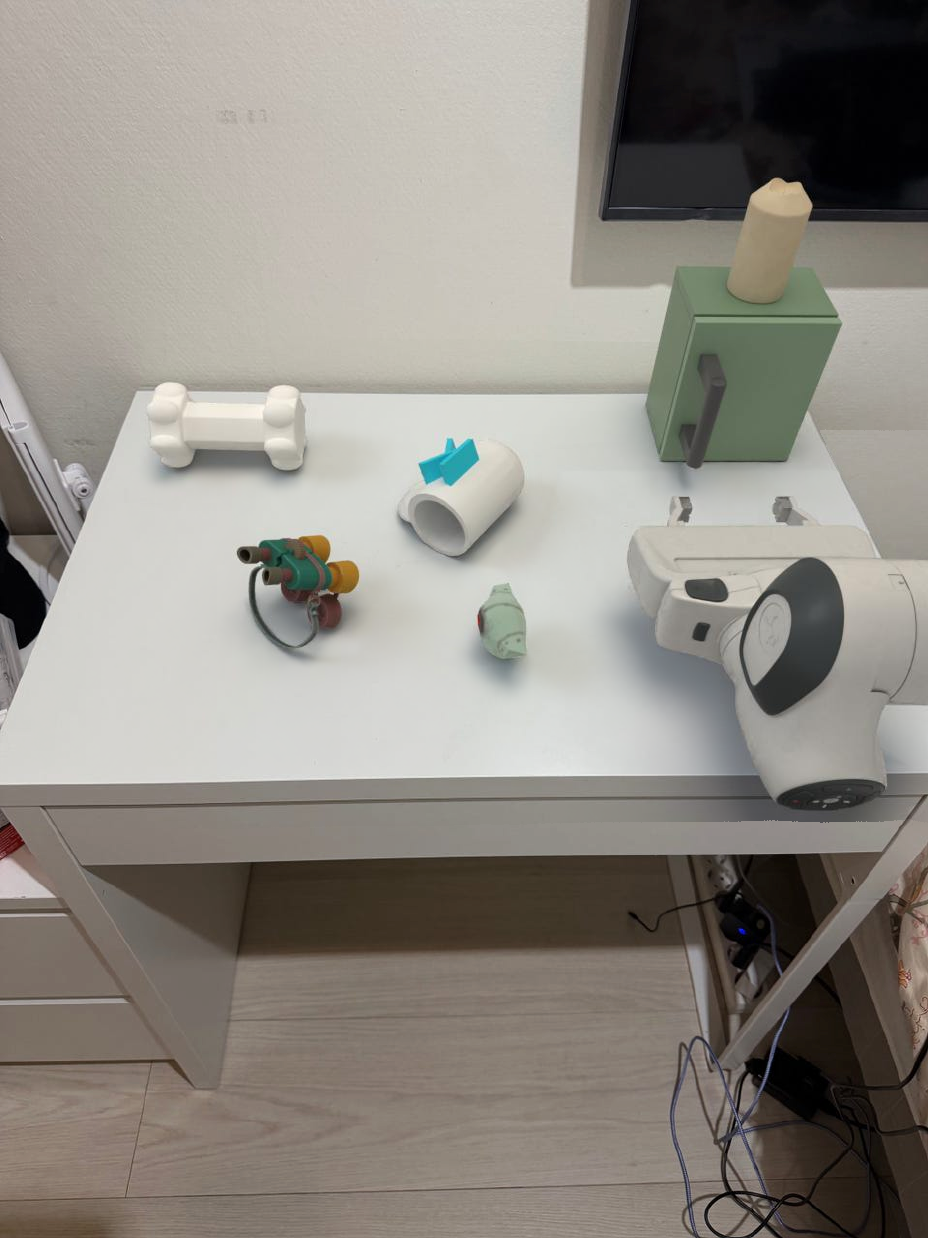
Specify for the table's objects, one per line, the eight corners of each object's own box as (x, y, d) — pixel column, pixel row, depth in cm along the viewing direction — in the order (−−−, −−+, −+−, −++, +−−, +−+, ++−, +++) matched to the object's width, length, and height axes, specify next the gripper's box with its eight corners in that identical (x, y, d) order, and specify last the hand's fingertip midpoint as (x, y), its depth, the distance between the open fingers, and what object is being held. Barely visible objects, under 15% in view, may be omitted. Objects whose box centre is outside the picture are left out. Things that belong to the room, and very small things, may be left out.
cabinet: (783, 454, 94) (839, 314, 81) (658, 454, 93) (694, 313, 80) (763, 405, 100) (812, 266, 86) (645, 404, 99) (676, 265, 86)
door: (800, 493, 90) (860, 355, 77) (669, 493, 89) (708, 354, 76) (784, 454, 94) (839, 317, 81) (659, 454, 93) (694, 316, 80)
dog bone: (157, 482, 89) (136, 418, 82) (176, 430, 94) (157, 367, 88) (301, 485, 89) (290, 422, 83) (311, 433, 94) (302, 370, 88)
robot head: (530, 686, 73) (537, 638, 68) (483, 692, 73) (487, 644, 67) (512, 616, 78) (517, 566, 73) (468, 620, 78) (471, 570, 72)
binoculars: (335, 661, 77) (376, 570, 73) (254, 674, 70) (295, 573, 66) (276, 602, 81) (312, 513, 77) (194, 609, 74) (229, 511, 70)
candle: (714, 281, 84) (742, 177, 76) (759, 271, 86) (791, 167, 78) (748, 309, 81) (781, 202, 73) (794, 297, 82) (831, 192, 75)
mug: (519, 410, 81) (447, 477, 75) (543, 490, 87) (478, 560, 80) (429, 410, 89) (357, 471, 82) (456, 484, 94) (390, 547, 87)
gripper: (915, 593, 65) (857, 474, 74) (652, 595, 64) (625, 474, 73) (882, 643, 70) (831, 526, 79) (637, 645, 69) (613, 527, 78)
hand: (730, 501), depth 76 cm, fingers open, 8 cm apart
